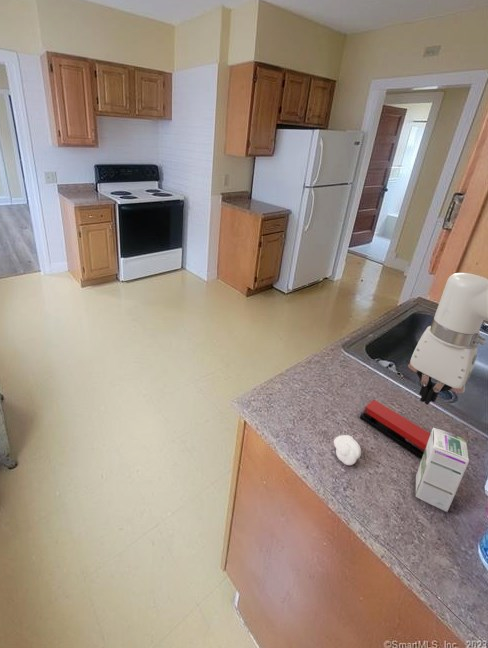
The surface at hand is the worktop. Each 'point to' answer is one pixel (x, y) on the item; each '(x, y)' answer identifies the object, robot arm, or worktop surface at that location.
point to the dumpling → (347, 449)
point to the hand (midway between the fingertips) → (426, 400)
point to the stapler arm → (398, 424)
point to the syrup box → (441, 468)
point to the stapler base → (393, 435)
